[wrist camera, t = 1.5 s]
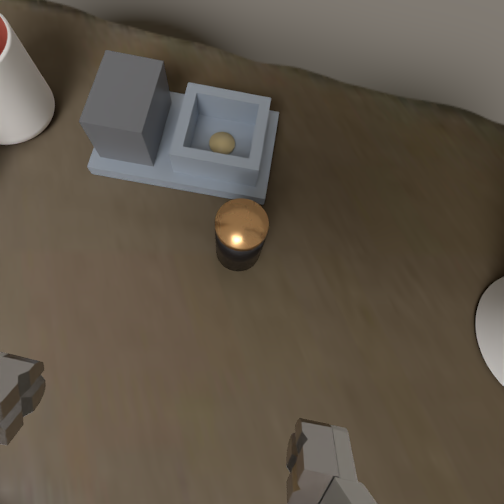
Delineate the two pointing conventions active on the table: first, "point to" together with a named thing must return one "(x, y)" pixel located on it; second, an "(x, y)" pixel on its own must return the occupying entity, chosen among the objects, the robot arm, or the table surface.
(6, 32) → the cup
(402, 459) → the table surface
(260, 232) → the cylinder
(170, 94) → the checker
